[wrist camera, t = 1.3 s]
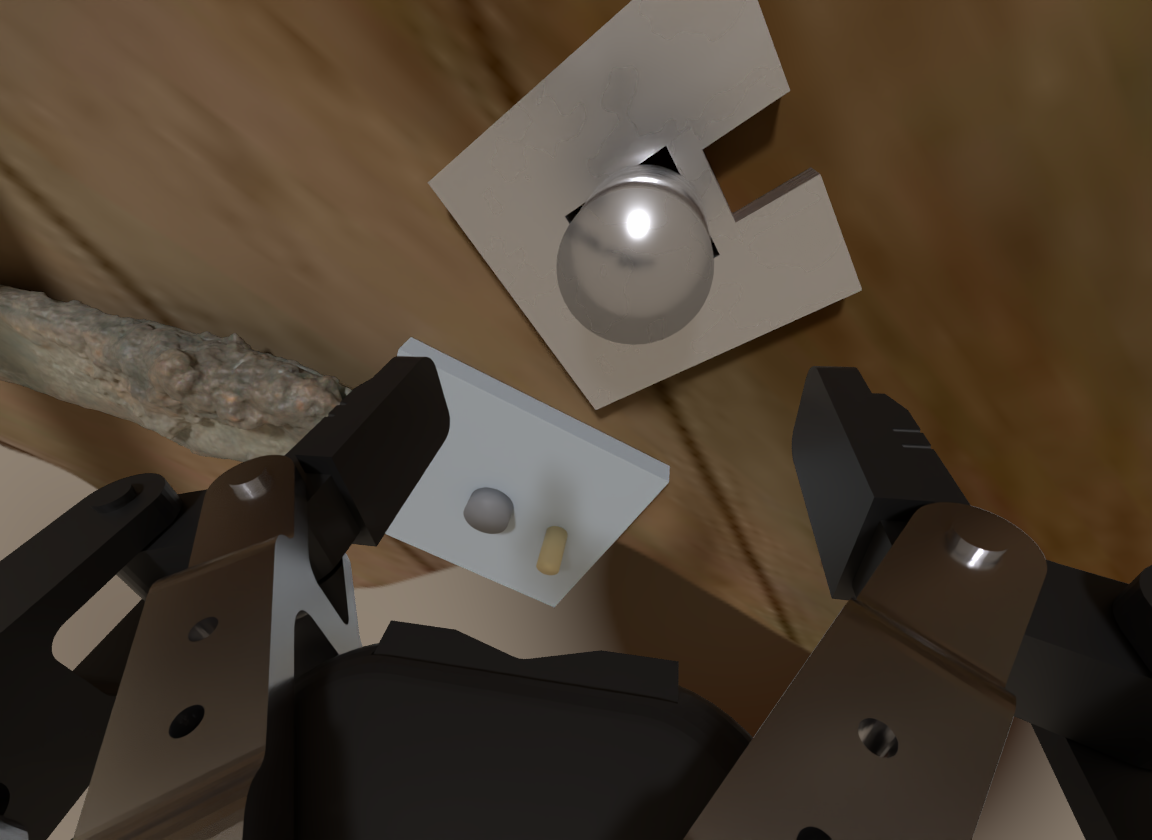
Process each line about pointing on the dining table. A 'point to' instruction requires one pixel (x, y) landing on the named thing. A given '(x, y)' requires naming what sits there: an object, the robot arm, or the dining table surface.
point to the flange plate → (634, 122)
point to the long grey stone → (163, 377)
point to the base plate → (521, 486)
